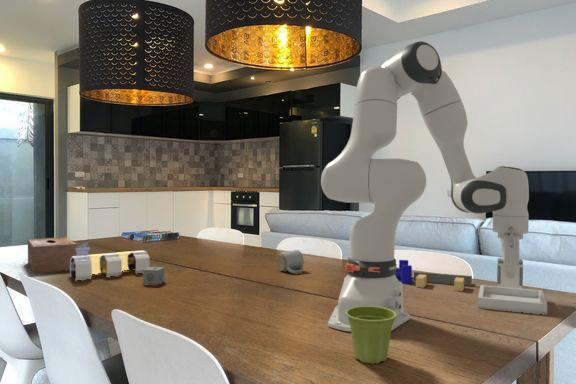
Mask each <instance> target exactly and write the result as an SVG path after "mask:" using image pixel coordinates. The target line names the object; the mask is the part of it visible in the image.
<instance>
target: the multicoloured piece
mask: <svg viewBox="0 0 576 384" xmlns="http://www.w3.org/2000/svg"><path fill="white" fill-rule="evenodd" d="M87 246H88V247H87ZM90 249H91V247H90V246H89V243H88V242H82V245H81V246H79V247H77V248H76V251H77V256H72V257H71V259H70V270H69V274H70V278H74V277H73V276H76V277H75V280H74V281H75V282H78V281H77V280H81V281H87V280H86V279H90V280H92V276H93V275H92V274H95V275H99V274H98V273H105V274H106V276H105V278H106V277H107V278H111V277H110V276H116V277H119V276H118V275H121V276H122V273H123V272H125V271H124V270H132V271H134V272H135V273H142V274H143V270H144V269H146V268H149V267H151V266H150V264H151V261H150V257H151V256H150V255H149V254H148V251H146V250H144V249H143V250H132V251H121V252H120V251H119V252H108V253H107V252H106V253H96V254H89V251H90ZM133 269H136V270H133ZM122 271H123V272H122ZM135 273H134V274H135Z"/></svg>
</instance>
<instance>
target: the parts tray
mask: <svg viewBox="0 0 576 384" xmlns="http://www.w3.org/2000/svg"><path fill="white" fill-rule="evenodd" d="M478 291H479V292H478V296H477V298H478V299H477V308H478V309H484V310H485V309H486V310H493V311H494V310H495V311H503V312H511V311H512V313H521V312H523V313H522V314H530V313H532V315H533V314H534V315H540V314H542V315H541V316H548V302H547V300H546V297H545V294H544V291H543V290H540V289H530V288H529V289H528V288H510V287H499V286H496V285H495V286H494V285H493V286H492V285H483V284H480V286H479V290H478Z"/></svg>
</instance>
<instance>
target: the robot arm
mask: <svg viewBox="0 0 576 384" xmlns="http://www.w3.org/2000/svg"><path fill="white" fill-rule="evenodd" d="M408 94H410V95H412V97H414V98H415V100H416V102H417V105H418V109H419V111H420V114H421V116H422V117H421V118H422V120H423V121H424V124H425V126H426V128H427V130H428V132H429V134H430V135H431V138H432V139H433V140H434V142H435V143H436V146H437V147H438V150H439V151H440V154H441V156H442V159H443V161H444V163H445V167H446V169H447V172H448V175H449V178H450V181H451V185H450V186H451V187H450V199H451V202H452V204H453V206H454V207H455V208H456V209H457V210H458V211H460V212H463V213H467V214H474V215H482V214H485V213H491V212H492V232H493V233H496V234H497V238H498V239H499V241H500V250H501V254H502V258H503V262H504V264H505V265H506V277H507V278H508V279H513V278H514V269H515V266H518V265H519V259H520V240H524V235H525V234H529V226H530V225H529V220H530V219H529V215H530V214H529V211H528V203H529V200H530V191H529V190H530V189H529V178H528V174H527V172H525V171H524V170H523V169H521V168H517V167H513V166H504V165H503V166H502V165H501V166H497V167H496V168H495V169H493V170H492V171H490V172H487V173H486V174H483V175H481V176H479V177H476V176H475V174H474V173H473V170H472V168H471V164H470V162H469V159H468V156H467V154H466V150H465V145H464V144H465V143H464V141H465V135H466V133H467V129H468V124H469V123H468V118H467V113H466V108H465V105H464V102H463V100H462V99H461V96H460V94H459V92H458V90H457V88H456V86H455V84H454V82H453V81H452V79H451V78H450V76H449V74H448V73H447V72H446V71H444V70H443V67H442V62H441V58H440V56H439V53H438V51H437V50H436V49H435V47H434V46H433V45H431V44H430V43H428V42H426V41H421V40H420V41H416V42H413V43H411V44H408V45H406V46H405V47H404V49H402V50H400V51H399V52H397V53H395V54H392V55H391V56H390V57H389V58H387V59H386V60H385V61H384V62H383V63H382V64H381V65H380V66H372V67H368V68H366V69H365V70H364V71H362V72H361V73H360V75H359V78H358V80H357V85H356V89H355V93H354V103H353V116H352V125H351V131H350V135H349V139H348V141H347V144H346V145H345V146H344V148H343V150H342V151H341V153H339V154H338V155H337V157H335V158H334V159H333V160H332V161H330V162H328V163H327V164H326V165H325V167H324V169H323V170H322V172H321V176H320V186H321V189H322V192H323V194H324V195H325V196H326V197H327V198H328V199H329V200H333V201H337V202H342V203H354V204H355V203H357V204H358V203H359V204H362V203H364V204H374V208H373V211H372V213H370V214H368V215H365V216H364V217H362V218H359V219H357V220H356V221H355V222H353V224H351V227H350V229H349V257H348V258H347V262H346V263H345V267H344V269H345V272H346V274H347V275H346V276H345V277H344V278H343V283H342V286H341V290H340V293H339V295H338V296H339V297H338V301H337V305H336V306H335V307H334V309H333V311H332V313H331V316H330V318H329V320H328V321H327V326H328V327H330V328H332V329H335V330H339V331H344V332H350V333H351V327H350V323H349V320H348V316H347V315H346V311H347V310H348V309H350V308H353V307H359V306H375V307H382V308H387V309H390V310H392V311H394V312H395V313H396V318H395V319H394V323H393V325H392V329H391V332H392V331H393V330H394V331H395V329H397V328H398V327H400V326H402V325H403V324H404V323H406V322H407V321H409V320H410V319H411V315H410V314H409V313H408V312H405V311H404V299H403V298H404V296H403V295H404V294H403V284H402V282H401V280H398V279H397V278H396V276H395V274H396V268H398V266H397V259H396V258H395V245H396V244H395V243H396V234H397V227H398V225H399V221H400V220H401V217H402V216H403V214H404V213H405V211H406V210H407V209H408V208H409V207H410V206H411V205H413V204H414V203H415V202H417V201H418V200H419V199H420V198H421V197H422V195H423V194H424V192H425V190H426V186H427V176H426V172H425V170H424V168H423V167H422V165H421V164H420V163H419V162H418V161H414V160H410V159H403V158H372V157H374V155H375V153H377V152H378V151H379V150H381V149H383V148H385V147H387V146H388V145H390V144H391V143H392V142H393V141H394V139H395V138H396V136H397V126H398V125H397V123H398V122H397V120H398V100H399V99H400V98H401V97H404V96H407V95H408Z"/></svg>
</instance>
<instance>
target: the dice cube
mask: <svg viewBox="0 0 576 384" xmlns="http://www.w3.org/2000/svg"><path fill="white" fill-rule="evenodd" d="M142 276H143V277H142V280H143V281H142V284H148V285H147V286H159V285H158V284H160V283H162V282H164V281H165V267H164V266H163V267H162V266H150V267H149V268H146V269H144V270H143V273H142ZM164 283H165V282H164ZM162 284H163V283H162ZM160 285H161V284H160Z"/></svg>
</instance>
